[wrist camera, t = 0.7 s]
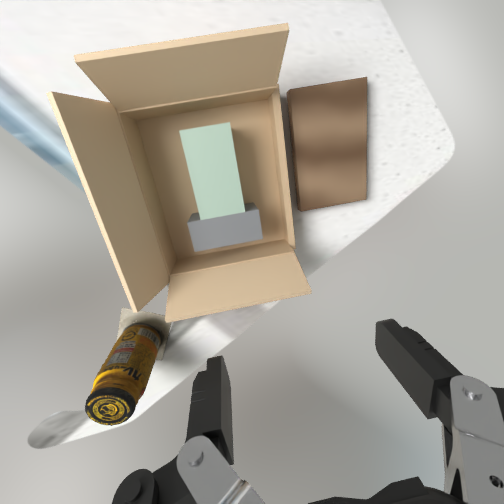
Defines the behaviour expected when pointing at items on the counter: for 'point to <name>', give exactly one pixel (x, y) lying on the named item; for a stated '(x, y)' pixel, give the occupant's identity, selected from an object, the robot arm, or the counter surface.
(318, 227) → the counter surface
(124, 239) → the carton
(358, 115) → the board
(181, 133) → the box
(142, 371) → the condiment
